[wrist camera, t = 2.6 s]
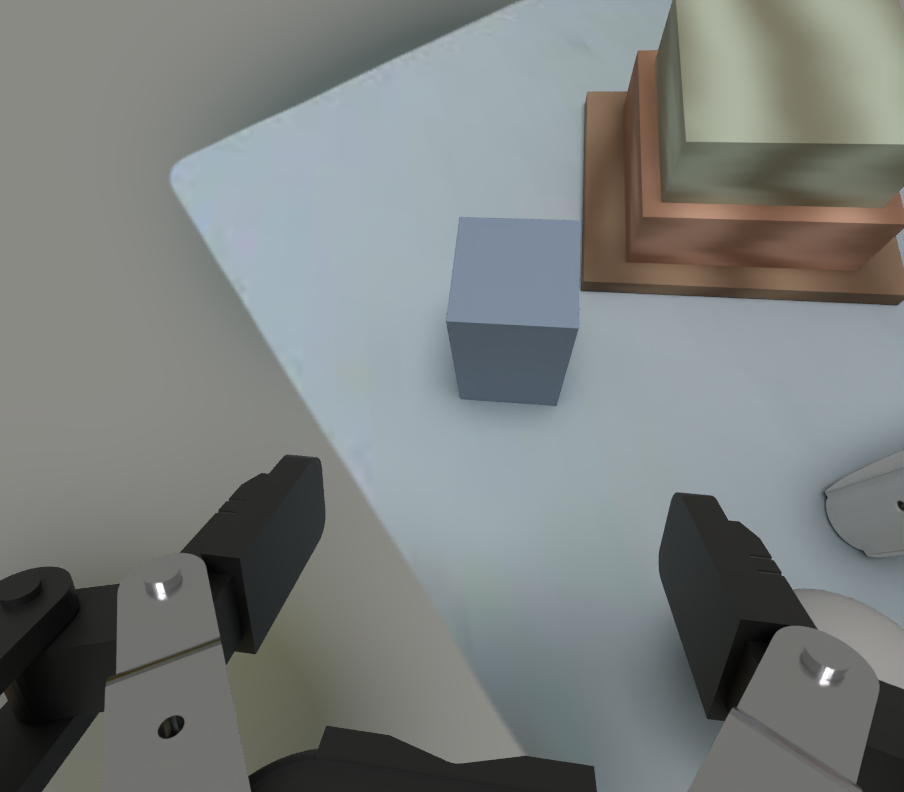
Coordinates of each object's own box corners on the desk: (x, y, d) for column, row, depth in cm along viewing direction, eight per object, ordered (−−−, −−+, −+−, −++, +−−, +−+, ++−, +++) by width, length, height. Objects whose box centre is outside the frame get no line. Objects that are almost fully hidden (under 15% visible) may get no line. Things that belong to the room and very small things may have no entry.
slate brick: (559, 321, 32) (580, 220, 23) (556, 405, 30) (578, 328, 21) (469, 316, 32) (459, 216, 24) (460, 399, 30) (446, 321, 22)
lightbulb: (826, 683, 24) (1074, 742, 13) (727, 772, 23) (912, 908, 13) (725, 567, 26) (873, 543, 16) (631, 644, 25) (722, 672, 15)
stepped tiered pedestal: (850, 105, 36) (956, -46, 28) (897, 304, 30) (1049, 190, 22) (585, 104, 38) (609, -36, 30) (581, 290, 32) (609, 181, 24)
